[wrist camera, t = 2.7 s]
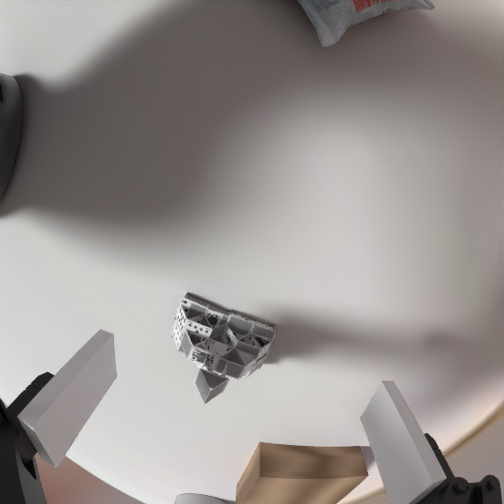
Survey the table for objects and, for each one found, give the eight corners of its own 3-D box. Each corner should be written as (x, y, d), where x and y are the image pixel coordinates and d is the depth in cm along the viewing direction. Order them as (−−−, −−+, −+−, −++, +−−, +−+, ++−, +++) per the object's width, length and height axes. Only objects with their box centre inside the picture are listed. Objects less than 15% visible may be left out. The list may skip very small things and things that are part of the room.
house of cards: (143, 362, 22) (109, 421, 14) (166, 279, 20) (121, 329, 12) (237, 398, 22) (231, 465, 15) (279, 323, 20) (288, 392, 13)
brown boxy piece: (237, 483, 27) (234, 511, 22) (259, 439, 24) (259, 476, 19) (319, 487, 27) (323, 513, 22) (358, 444, 24) (368, 475, 19)
